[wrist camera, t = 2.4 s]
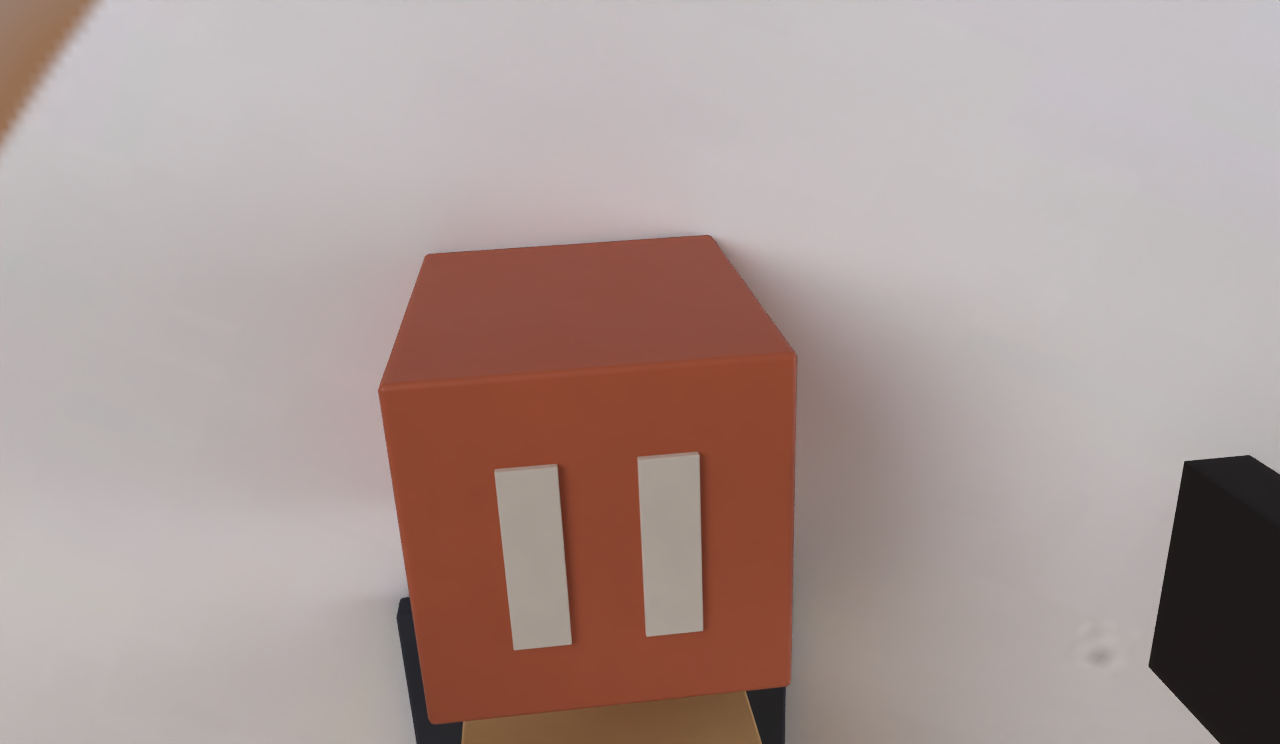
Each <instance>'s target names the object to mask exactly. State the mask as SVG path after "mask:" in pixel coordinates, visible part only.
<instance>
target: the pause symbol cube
mask: <svg viewBox="0 0 1280 744" xmlns="http://www.w3.org/2000/svg"><path fill="white" fill-rule="evenodd" d="M796 390H797V356H796V353H795V352H794V350H793V349H792V347H791V346H790V345H789V343H788V342H787V341H786V339H785V338H784V336H783V335H782V334H781V332H780V331H779V329H778V328H777V327H776V325H775V324H774V322H773V321H772V320H771V318H770V317H769V316H768V314H767V313H766V311H765V310H764V309H763V307H762V306H761V304H760V303H759V302H758V300H757V299H756V298H755V296H754V295H753V293H752V292H751V291H750V289H749V288H748V286H747V285H746V284H745V282H744V281H743V279H742V278H741V277H740V275H739V274H738V273H737V271H736V270H735V268H734V267H733V266H732V264H731V263H730V261H729V260H728V259H727V257H726V256H725V255H724V253H723V252H722V250H721V249H720V248H719V246H718V245H717V243H716V242H715V241H714V239H713V238H712V236H709V235H701V236H686V237H671V238H657V239H642V240H627V241H613V242H598V243H583V244H569V245H554V246H539V247H524V248H510V249H495V250H480V251H466V252H451V253H436V254H428V255H426V256H425V258H424V261H423V264H422V266H421V269H420V272H419V275H418V278H417V281H416V283H415V286H414V289H413V292H412V295H411V298H410V300H409V303H408V306H407V309H406V312H405V315H404V318H403V320H402V323H401V326H400V329H399V332H398V335H397V337H396V340H395V343H394V346H393V349H392V352H391V355H390V357H389V360H388V363H387V366H386V369H385V372H384V374H383V377H382V380H381V383H380V386H379V389H378V393H379V399H380V406H381V412H382V419H383V425H384V432H385V438H386V445H387V452H388V458H389V465H390V471H391V478H392V484H393V491H394V497H395V504H396V510H397V517H398V524H399V530H400V537H401V543H402V550H403V556H404V563H405V569H406V576H407V582H408V589H409V596H410V602H411V609H412V615H413V622H414V628H415V635H416V641H417V648H418V654H419V661H420V668H421V674H422V681H423V687H424V694H425V700H426V707H427V713H428V719H429V721H430V722H431V724H435V725H436V724H445V723H454V722H463V721H473V720H482V719H491V718H500V717H510V716H519V715H528V714H537V713H547V712H556V711H565V710H574V709H584V708H593V707H602V706H612V705H621V704H630V703H639V702H649V701H658V700H667V699H676V698H686V697H695V696H704V695H713V694H723V693H732V692H741V691H750V690H760V689H769V688H778V687H786V686H788V685H789V684H790V681H791V654H792V601H793V548H794V496H795V443H796Z"/></svg>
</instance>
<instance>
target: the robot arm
mask: <svg viewBox="0 0 1280 744" xmlns="http://www.w3.org/2000/svg"><path fill="white" fill-rule="evenodd" d="M1149 668H1150V669H1151V670H1152V671H1153V672H1154V673H1155V674H1156V675H1157V676H1158V677H1159V678H1160V679H1161V680H1162V682H1163V683H1164V684H1165V685H1166V686H1167V687H1168V688H1169V689H1170V690H1171V691H1172V692H1173V693H1174V694H1175V696H1176V697H1177V698H1178V699H1179V700H1180V701H1181V702H1182V703H1183V704H1184V705H1185V706H1186V707H1187V708H1188V710H1189V711H1190V712H1191V713H1192V714H1193V715H1194V716H1195V717H1196V718H1197V719H1198V720H1199V721H1200V722H1201V724H1202V725H1203V726H1204V727H1205V728H1206V729H1207V730H1208V731H1209V732H1210V733H1211V734H1212V735H1213V736H1214V738H1215V739H1216V740H1217V741H1218V742H1219V743H1220V744H1280V474H1278V473H1277V472H1275V471H1274V470H1272V469H1270V468H1269V467H1267V466H1266V465H1264V464H1263V463H1261V462H1259V461H1258V460H1256V459H1255V458H1253V457H1252V456H1250V455H1246V456H1235V457H1224V458H1214V459H1203V460H1193V461H1184V467H1183V473H1182V478H1181V484H1180V490H1179V495H1178V501H1177V507H1176V513H1175V518H1174V524H1173V530H1172V535H1171V541H1170V547H1169V552H1168V558H1167V564H1166V569H1165V575H1164V581H1163V586H1162V592H1161V598H1160V604H1159V609H1158V615H1157V621H1156V626H1155V632H1154V638H1153V643H1152V649H1151V655H1150V660H1149Z"/></svg>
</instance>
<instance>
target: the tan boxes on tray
mask: <svg viewBox="0 0 1280 744" xmlns="http://www.w3.org/2000/svg"><path fill="white" fill-rule="evenodd" d="M397 623H398V630H399V636H400V642H401V648H402V655H403V661H404V667H405V673H406V680H407V686H408V692H409V698H410V705H411V711H412V717H413V723H414V730H415V736H416V742H417V744H785V695H786V687H778V688H769V689H760V690H750V691H741V692H732V693H723V694H713V695H704V696H695V697H686V698H676V699H667V700H658V701H649V702H639V703H630V704H621V705H612V706H602V707H593V708H584V709H574V710H565V711H556V712H547V713H537V714H528V715H519V716H510V717H500V718H491V719H482V720H473V721H463V722H454V723H445V724H436V725H435V724H431V722H430V721H429V719H428V713H427V707H426V700H425V694H424V687H423V681H422V674H421V668H420V661H419V654H418V648H417V641H416V635H415V628H414V622H413V615H412V609H411V602H410V597H409V598H402V599H401V600H400V603H399V608H398V613H397Z"/></svg>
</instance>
